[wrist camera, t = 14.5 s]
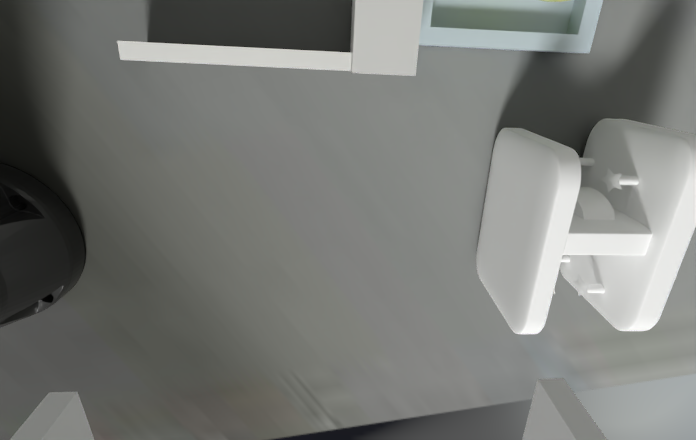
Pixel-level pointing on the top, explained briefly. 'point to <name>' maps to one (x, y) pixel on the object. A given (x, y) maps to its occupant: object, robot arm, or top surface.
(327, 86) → the top surface
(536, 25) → the tray
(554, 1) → the plant pot
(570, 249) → the cable organizer
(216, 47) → the bay
